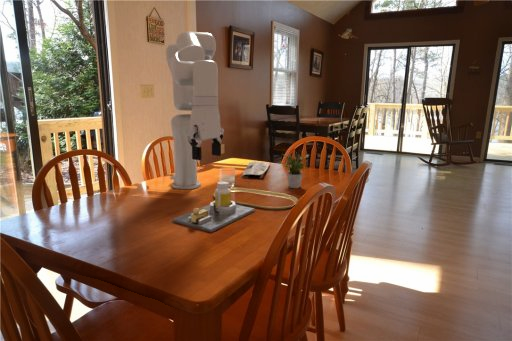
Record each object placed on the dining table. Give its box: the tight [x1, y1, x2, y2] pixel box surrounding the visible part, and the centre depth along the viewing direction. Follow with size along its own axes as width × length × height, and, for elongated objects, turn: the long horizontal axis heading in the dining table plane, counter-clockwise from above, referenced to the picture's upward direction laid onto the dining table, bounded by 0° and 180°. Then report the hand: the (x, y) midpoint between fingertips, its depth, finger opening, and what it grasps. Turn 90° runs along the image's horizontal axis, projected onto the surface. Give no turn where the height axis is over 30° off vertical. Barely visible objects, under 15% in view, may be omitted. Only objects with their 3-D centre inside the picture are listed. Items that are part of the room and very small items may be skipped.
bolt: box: [191, 207, 208, 223], centre depth 115 cm, size 2×6×4 cm, turn 147°
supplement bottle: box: [214, 181, 232, 212], centre depth 125 cm, size 5×5×10 cm
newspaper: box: [241, 161, 271, 179], centre depth 193 cm, size 35×12×4 cm, turn 175°
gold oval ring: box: [212, 187, 299, 210], centre depth 143 cm, size 19×35×2 cm, turn 63°
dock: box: [172, 200, 256, 233], centre depth 122 cm, size 16×24×4 cm, turn 147°
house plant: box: [280, 150, 309, 189], centre depth 160 cm, size 14×14×16 cm
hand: (206, 157), depth 115 cm, fingers open, 9 cm apart
